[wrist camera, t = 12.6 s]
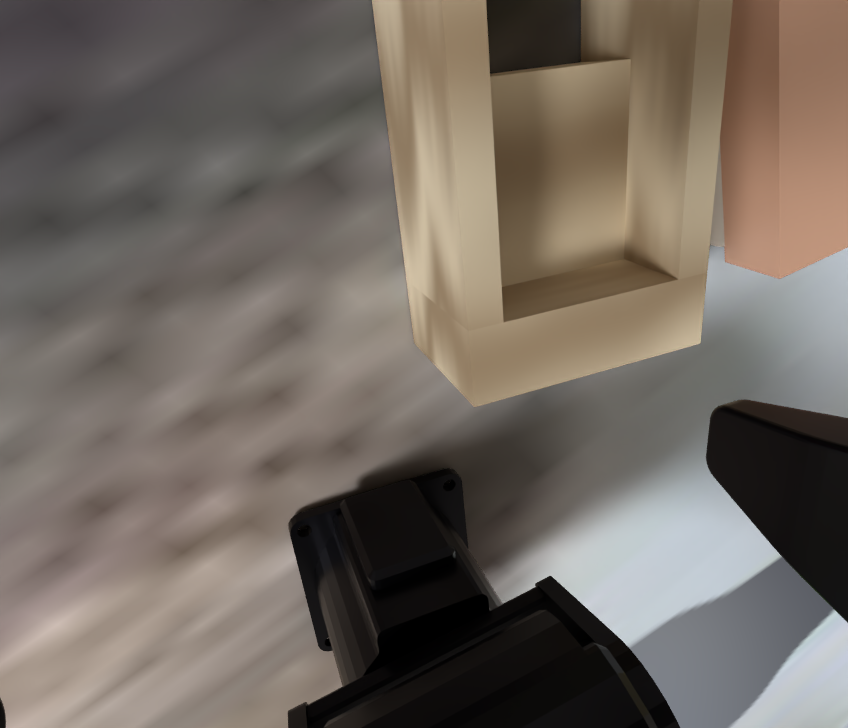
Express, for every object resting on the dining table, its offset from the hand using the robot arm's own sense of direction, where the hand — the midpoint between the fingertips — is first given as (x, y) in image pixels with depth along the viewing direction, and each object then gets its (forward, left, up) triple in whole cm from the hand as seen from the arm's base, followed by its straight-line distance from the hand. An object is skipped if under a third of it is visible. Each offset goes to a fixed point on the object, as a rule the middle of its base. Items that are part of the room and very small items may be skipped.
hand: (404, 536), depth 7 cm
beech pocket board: (+4, -8, -13) cm, 16 cm away
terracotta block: (+2, -18, -12) cm, 22 cm away
